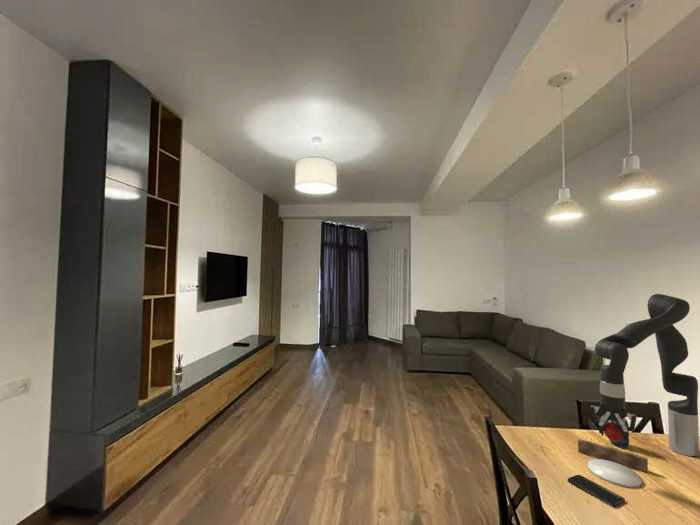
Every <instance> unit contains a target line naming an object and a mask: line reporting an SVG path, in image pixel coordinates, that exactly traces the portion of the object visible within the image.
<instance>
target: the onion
mask: <svg viewBox="0 0 700 525" xmlns="http://www.w3.org/2000/svg"><path fill="white" fill-rule="evenodd" d="M604 435H605V436H606V438H608V440H609V439H610V440H611V441H612V442H616V441H619V440H621V438H622V437H623V432H622V430H621V428H620V427H619V426H618V425H617V424H615V422H614V421H613V420H612V421H611V422H610V423H609V422H608V423H606V424H605V425H604ZM610 440H609V441H610Z"/></svg>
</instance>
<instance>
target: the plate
mask: <svg viewBox="0 0 700 525" xmlns="http://www.w3.org/2000/svg"><path fill="white" fill-rule="evenodd" d="M588 468H589V469H588ZM587 469H588V470H589V471H590V472H591V473H592V474H593V475H594V476H596V477H597V476H598V477H597V478H599V479H601V480H602V481H606V482H607V481H608V483H609V484H612V483H613V485H615V486H619V487H624V488H625V487H626V488H637V487H638V488H639V487H641V486H642V484H643V480H642V477H641V476H640V475H639V474H638V473H637V472H636V471H634V470H633V469H632V468H630V467H627V466H623V465H621V464H618V463H615V462H612V461H608V460H603V459H600V458H594V459H590V460H589V461H588V462H587Z"/></svg>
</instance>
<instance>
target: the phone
mask: <svg viewBox="0 0 700 525" xmlns="http://www.w3.org/2000/svg"><path fill="white" fill-rule="evenodd" d="M568 482H569V483H568ZM567 483H568V484H570V483H571V484H570V485H572V486H573V485H574V486H573V487H575V486H576V487H575V488H576V489H579V490H580V489H581V490H580V491H582V492H584V493H586V494H587V495H589V494H590V495H589V496H591V497H593V496H594V497H593V498H594V499H596V498H597V499H596V500H598V499H599V501H600V502H602V503H604V504H605V505H607V506H609V507H610V508H618V507H619V506H621V505H623V504H625V503H626V499H625V498H624V497H623V496H622V495H619V494H617V493H615V492H613V491H612V490H610V489H608V488H606V487H604V486H603V485H600V484H598V483H597V482H594V481H592V480H591V479H590V478H589V479H588V478H587V477H585V476H583V475H581V474H575V475H573V476H571V477H568V478H567Z"/></svg>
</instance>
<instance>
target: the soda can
mask: <svg viewBox="0 0 700 525" xmlns="http://www.w3.org/2000/svg"><path fill="white" fill-rule="evenodd" d="M623 420H624V422H625V424H626V426H627V427H630V423H629V422H628V421H627V420H628V419H627V418H626V417H625V418H624V419H623ZM611 421H612V420H608V423H610V422H611ZM614 422H615V421H614ZM615 424H617V425H618V426H619V427H620V428H621V430H622V432H623V428H622V426H621V425H620V423H619V422H615ZM608 440H609V442H610V444H611V445H613V446H615V447H617V448H621V449H627V448H628V447H629V446H630V431H629V432H628V440H625V441H623V437H622V438H621V440H619V441H616V442H612V441H611V440H610V439H608Z"/></svg>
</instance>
